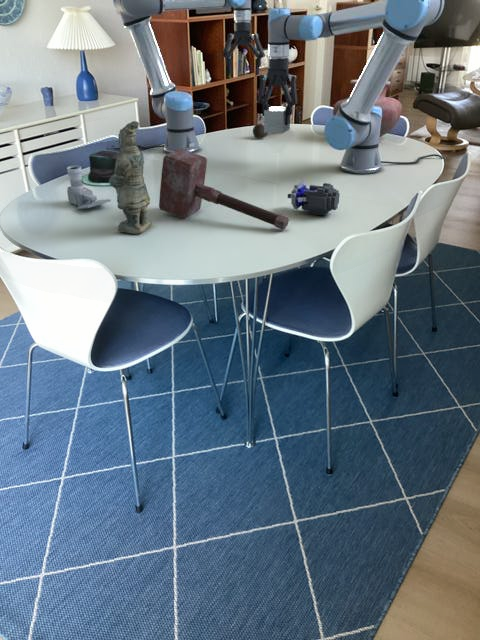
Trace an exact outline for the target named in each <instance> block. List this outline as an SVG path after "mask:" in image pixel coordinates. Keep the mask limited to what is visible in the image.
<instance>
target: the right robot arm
mask: <svg viewBox="0 0 480 640" xmlns="http://www.w3.org/2000/svg"><path fill="white" fill-rule="evenodd" d="M444 7H445V0H381V1H377V2H371V3H368V4H363V5H357V6H353V7H348V8H344V9H339V10H334V11H328V12H325V13H317V14H302V15H300V14H299V15H294V14H291V10H290V8H271V9H269V11H268V19H267V32H268V34H267V35H268V36H267V37H268V38H267V39H268V41H267V42H268V43H267V56H268V59H267V72H266V73H265V74H264V73H262V74H259V81H260V82H259V88H258V89H259V90H258V96H257V103H258V104H261V105H262V114H263V115H264V110H266V109H268V108H270V104H268V103H269V99H270V97H271V95H272V93H273V90H274V87H275V86H279V87H280V88H281V89H282V92H283V95H284V98H285V101H286V104H287V106H285V107H286V125H288V124H290V125H291V116H292V115H293V106H295V105H297V104H298V93H297V92H298V91H297V77H298V76H297V75H296V74H295V75H294V74H290V72H289V65H290V59H289V58H288V57H289V56H290V40H294V41H306V42H310V41H316V40H318V39H322V38H323V39H325V38H329V37H334V36H339V35H344V34H351V33H356V32H362V31H367V30H373V29H379V28H382V29H383V30H382V31H383V32H382V34H381V36H380V38H379V39H378V41H377V44H376V45H375V47H374V49H373V51H372V53H371V55H370V57H369V59H368V60H367V63H366V65H365V66H364V68H363V71H362V73H361V75H360V76H359V78H358V79H357V80H358V82H357V84H356V86H355V88H354V87H353V90H352V92H351V94H350V96H349V97H348V98H349V100H348V101H346V102H343V103H342V104H341V106H340V108H339V109H338V111H337V113H336V115H335V116H331V117H330V118H329V119H328V120H327V121H326V123H325V125H324V136H325V140H326V142H327V144H328V145H329V146H330V147H331V148H332V149H334V150H336V151H344V154H343V156H342V158H341V162H340V170H341V171H343V172H345V173H349V174H355V175H356V174H357V175H369V174H370V175H371V174H376V173H378V172H380V171H382V164H391V165H411V164H412V165H413V164H418V163H419V162H420V160H422V159H425V158H430V157H437V158H440V159H442V160H444V157H443V156H442V155H441V154H437V153H434V154H426V155H422V156H419V157H418V158H417V160H416V161H388V160H381V155H380V150H379V147H380V145H379V144H380V138H381V137H380V128H381V119H382V109H381V108H380V107H378V106H374V105H375V103H376V101H377V99H378V98H379V96H380V94H381V92H382V90H383V89H384V87H385V85H386V83H387V81H389V79H390V78H391V76H392V74H393V72H394V71H395V69H396V67H397V65H398V63H399V62H400V60H401V58H402V57H403V54H404V52H405V50H406V49H407V47H408V45H410V44H413V43H415V42H416V41H417V39H418V37H419V36H420V34H421V32H422V30H423V29H424V27H428V26H430V25H432V24H434V23H435V22H436V21H437V20H438V19H439V18H440V17H441V15H442V13H443V11H444ZM267 79H268V81H269V83H268V86H267V89H266V82H267ZM288 80H289V82H290V91H291V92H290V91H289V87H288V83H287V81H288ZM265 89H266V92H265ZM290 93H291V94H290Z"/></svg>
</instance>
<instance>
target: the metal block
mask: <svg viewBox="0 0 480 640" xmlns="http://www.w3.org/2000/svg"><path fill="white" fill-rule="evenodd" d="M263 125H264V132H267V133H268V134H285V133H286V132H288V131H290V129H291V123H290V124H288V125H286V106H269V108H268V109H266V110H264V114H263Z"/></svg>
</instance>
